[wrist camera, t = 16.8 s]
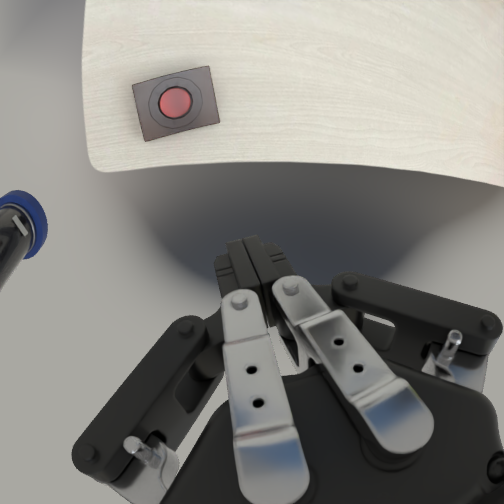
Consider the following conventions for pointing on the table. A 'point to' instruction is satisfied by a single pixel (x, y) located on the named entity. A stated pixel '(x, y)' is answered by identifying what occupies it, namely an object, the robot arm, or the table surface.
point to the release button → (175, 102)
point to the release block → (195, 117)
